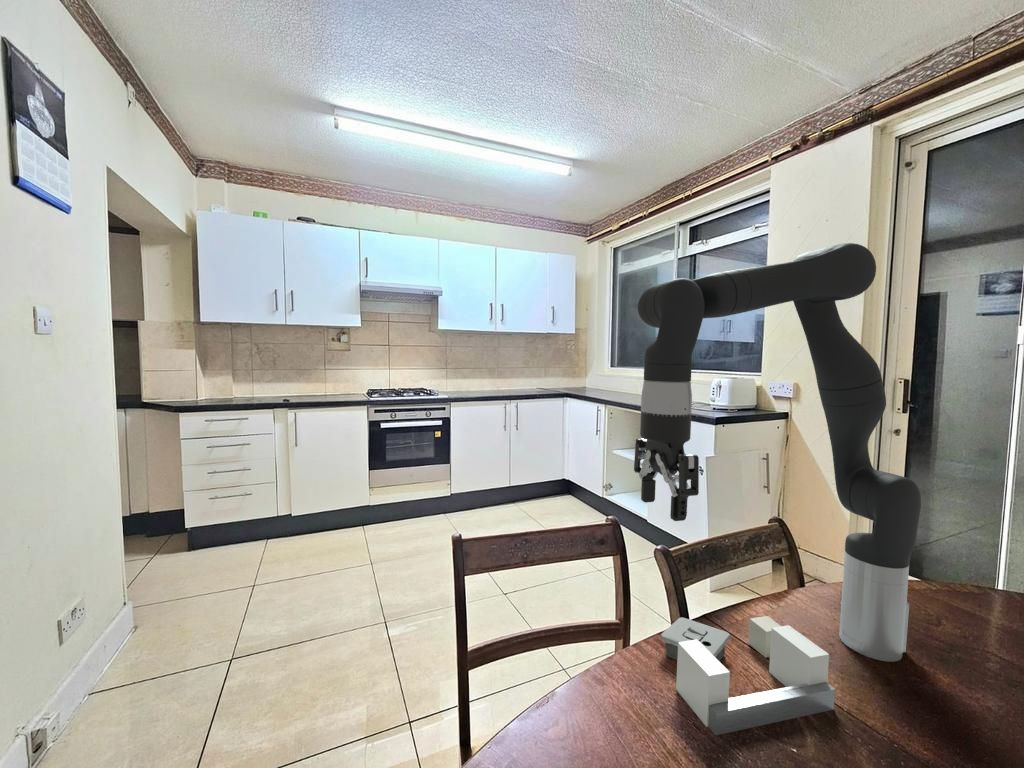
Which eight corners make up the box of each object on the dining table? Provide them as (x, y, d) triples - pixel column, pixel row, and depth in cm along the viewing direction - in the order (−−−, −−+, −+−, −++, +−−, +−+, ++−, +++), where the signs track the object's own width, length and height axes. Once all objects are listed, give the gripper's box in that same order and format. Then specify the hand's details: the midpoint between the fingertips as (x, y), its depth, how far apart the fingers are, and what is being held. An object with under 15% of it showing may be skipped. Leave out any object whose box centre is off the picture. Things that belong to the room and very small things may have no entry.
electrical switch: (714, 656, 72) (661, 626, 79) (709, 685, 73) (656, 653, 79) (732, 634, 79) (682, 608, 85) (727, 660, 80) (678, 632, 86)
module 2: (784, 668, 76) (787, 624, 75) (825, 703, 68) (829, 654, 68) (767, 671, 75) (770, 626, 75) (807, 706, 68) (810, 657, 67)
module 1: (694, 684, 72) (696, 638, 71) (727, 723, 64) (729, 671, 64) (675, 688, 71) (677, 641, 71) (706, 727, 64) (709, 675, 63)
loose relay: (766, 641, 83) (767, 615, 83) (783, 655, 80) (785, 628, 79) (748, 643, 83) (749, 618, 82) (765, 658, 79) (766, 631, 78)
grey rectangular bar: (822, 701, 69) (823, 679, 69) (833, 710, 67) (835, 689, 67) (706, 725, 64) (707, 702, 64) (715, 736, 62) (716, 713, 62)
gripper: (717, 415, 63) (712, 525, 64) (661, 404, 77) (658, 494, 78) (670, 416, 61) (666, 529, 62) (622, 404, 75) (619, 497, 76)
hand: (662, 510), depth 70 cm, fingers open, 8 cm apart
